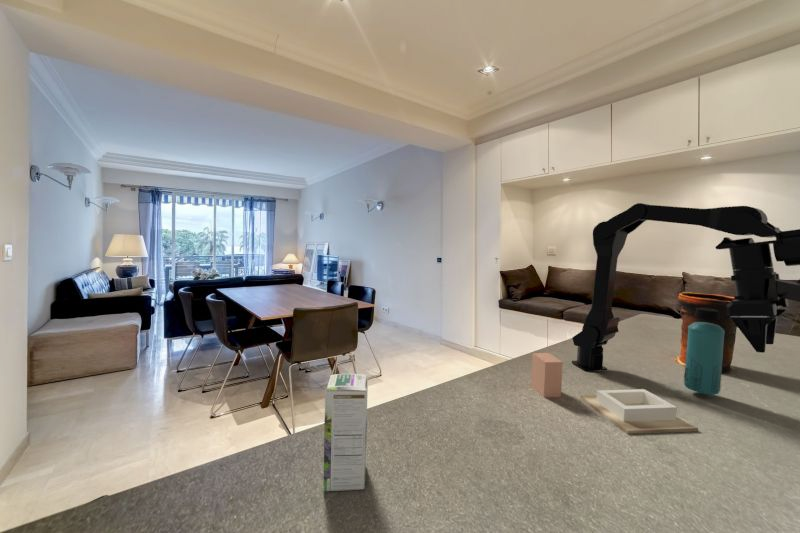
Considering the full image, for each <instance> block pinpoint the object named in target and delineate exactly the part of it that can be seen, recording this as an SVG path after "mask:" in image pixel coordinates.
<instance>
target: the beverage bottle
mask: <svg viewBox="0 0 800 533" xmlns="http://www.w3.org/2000/svg"><path fill="white" fill-rule="evenodd" d="M695 317H696V318H700V319H706V320H719V311H718V310H714V309H707V308H697V309H696V313H695ZM724 333H725V331H724V330H723V329H722V328H721V327H720V326H719V325H716V324H712V323H706V322H694V323H692V324H691V325H689V326H688V341H687V345H686V346H687V351H686V356H685V357H686V361H685V362H686V365H683V366H684V374H683V384H684V386H685V388H687V389H688V390H690V391H693V392H696V393H699V394H700V393H701V394H704V395H715V396H716V395H718V394H719V393H720V391H722V390H721V388H722V387H721V385H722V373H721V372H722V368H723V367H722V365H723V364H722V362H723V361H722V360H723V344H724Z"/></svg>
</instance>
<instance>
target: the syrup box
mask: <svg viewBox="0 0 800 533" xmlns="http://www.w3.org/2000/svg"><path fill="white" fill-rule="evenodd" d="M368 381H369V378H368V375H367V374H361V373H337V374H336V373H335V374H330V376H329V380H328V383H327V386H326V390H325V392H324V425H323V426H324V427H323V429H324V431H323V432H324V433H323V435H324V436H323V441H324V442H323V491H324V492H339V491H340V492H341V491H343V492H344V491H355V490H357V491H358V490H360V491H361V490H365V487H366V484H365V483H366V463H367V461H366V460H367V432H368V431H367V429H368V391H369V390H368V388H369V387H368V385H369V383H368Z"/></svg>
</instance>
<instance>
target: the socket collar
mask: <svg viewBox="0 0 800 533" xmlns="http://www.w3.org/2000/svg"><path fill="white" fill-rule="evenodd" d="M596 395H597V398H596V402H597V403H599V404H600V405H601V406H603V407H604V408H606V409H607V410H608V411H610V412H611V413H612V414H614V415H615V416H617V417H618V418H619V419H621V420H622V421H623V422H627V421H656V420H676V415H677V414H678V412H677V411H678V407H677V406H675V405H673V404H672V403H670V402H668V401H666V400H664V399H663V398H661V397H659V396H657V395H655V394H654V393H652V392H651V391H648V390H647V389H645V388H640V389H638V388H637V389H603V390H601V389H600V390H596ZM633 403H643V404H645V405H635V406H625V405H624V404H633Z"/></svg>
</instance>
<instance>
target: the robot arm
mask: <svg viewBox="0 0 800 533" xmlns="http://www.w3.org/2000/svg"><path fill="white" fill-rule="evenodd" d="M646 221H651V222H652V221H654V222H663V223H664V222H665V223H674V224H683V225H690V226H691V225H693V226H700V227H705V228H708V229H712V230H715V231H718V232H723V233H727V234H730V235H735V236H755V237H759V238H766V239H767V238H770V239H771V238H775V240H773V239H772V240H766V241H765V240H764V241H756V242H755V240H754V239H753V238H752V237H745V238H740V239H739V238H738V239H732V238H731V237H727V236H725V237H723V239H722V241H721V242H719V244H717V245H715V249H716V250H727V249H729V255H730V256H729V257H730V262H731V270H732V275H730V278H731V282H734V286H735V287H734V288H735V292H736V294H735V296H733V297H734V299H735V300H733V301H731V302H730V303H729V304H727V305H726V312H727V316H731V317H730V319H731V320H733V322H734V323H735V324H736V325H737V328H738V329H739V331H740V332H741V333H742V334H743V336H744V337H745V339H746V340H747V341H748V342H749V344H750V345H751V347H752V348H753V349H754V351H755V352H757V353H766V347H767V346H766V345H774V343H775V337H776V330H777V322H778V318H779V317H780V316H781V315H782V314H784V313H785V312H786V311H787V310H788V307H789V306H790V304H789V301H793V302H794V301H795V302H799V303H800V279H798V280H797V281H794V280H793V281H792V280H783V279H781V278H780V275H779V273H777V271H775V269H774V263H773V259H772V258H773V257H772V253H771V246H770V245H771V244H772V246H773V247H772V248H773V255H774V258H775V260H776V262H783V263H784V265H785V266H786V267H791V266H792V267H793V266H800V228H799V229H791V230H784V231H782V230H781V229H780V227H777V226H775V225H773V223H770V222H768V216H767V214H766V213H765V211H763V210H762V209H760V208H756V207H752V206H748V205H734V206H720V207H711V208H698V207H685V206H684V207H682V206H681V207H680V206H670V205H669V206H668V205H659V204H658V205H656V204H655V205H654V204H647V203H639V202H638V203H636V204H633V205H632V206H630V207H628V209H626V210H624V211H622V212H620V213H618V214H616V215H614V216H612V217H610V219H608V220H606V221H605V220H604V221H601V222H598V223H597V225H595V226H594V227H593V229H592V242H593V243H592V244H593V246H594V250H595V253H596V262H595V263H596V265H595V274H594V282H593V290H592V292H593V293H592V301H591V308H590V310H589V312H587V315H586V317H585V319H584V322H583V326H582V329H581V331H580V332H578V333H577V334H575V335H574V336H572V338H571V339H572V342H573V345H574V346H575V347H577V355H576V356H577V357H576V360H571V363H572V364H573V365H575V367H578V368H579V369H581V370H583V371H585V372H591V371H592V372H593V371H596V372H599V371H600V372H601V371H608V368H607V367H605V366H604V348H603V346H605V345H607V344H608V342H609V340H611V339H613V338H615V336H616V333H619V327H618V326H619V323H620V317H619V316H614V313H613V311H612V310H613V309H612V307H613V299H614V291H615V282H616V275H617V268H618V266H617V265H618V258H619V256H620V254H621V251H622V250H623V248H624V247H625V244H626V241H627V237H628V235H629V234H631V233H632V232H634V231H635V230H636V229H637V228H639V227H640V226H642V224H644V223H645V222H646Z"/></svg>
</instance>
